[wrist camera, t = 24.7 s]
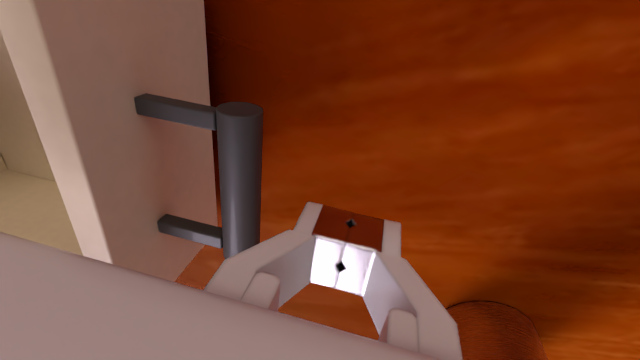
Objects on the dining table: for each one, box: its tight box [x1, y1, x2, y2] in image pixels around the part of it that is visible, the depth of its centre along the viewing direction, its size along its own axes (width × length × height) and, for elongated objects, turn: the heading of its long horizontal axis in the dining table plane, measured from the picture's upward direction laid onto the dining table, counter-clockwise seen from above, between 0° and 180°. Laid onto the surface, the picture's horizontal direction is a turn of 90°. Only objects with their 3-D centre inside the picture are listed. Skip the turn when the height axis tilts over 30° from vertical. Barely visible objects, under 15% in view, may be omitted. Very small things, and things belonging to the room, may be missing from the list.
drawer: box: [0, 0, 263, 282], centre depth 13 cm, size 18×12×7 cm
